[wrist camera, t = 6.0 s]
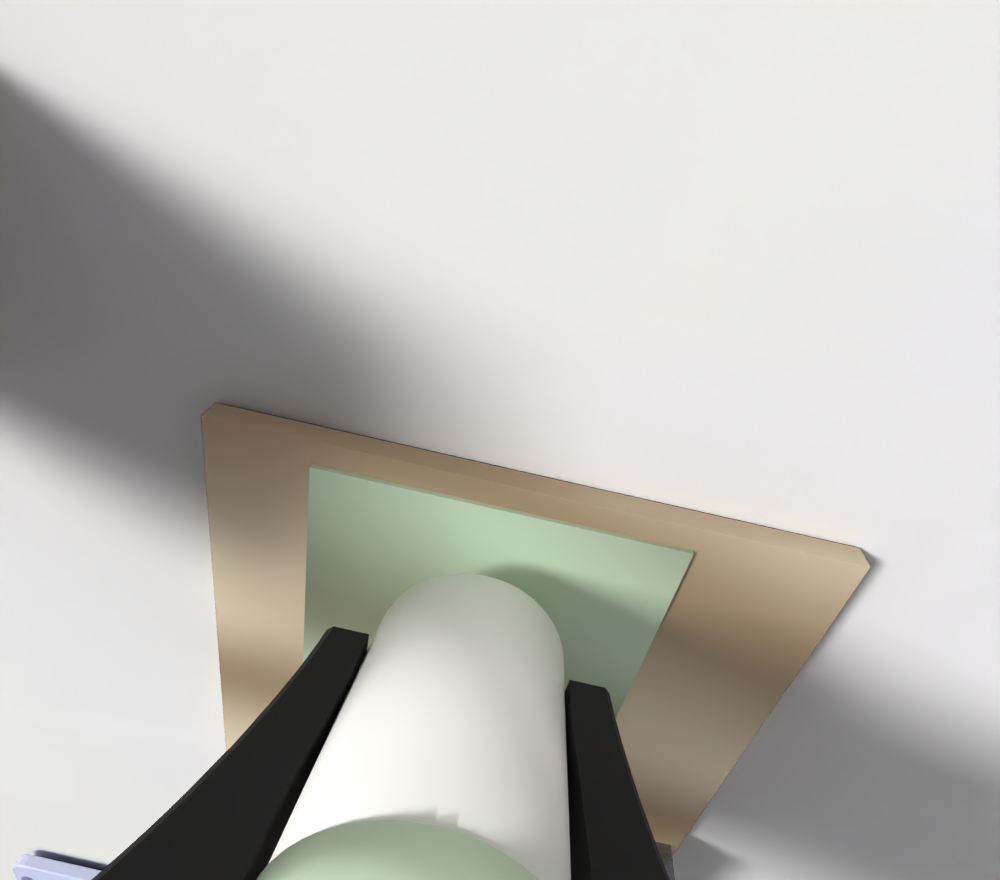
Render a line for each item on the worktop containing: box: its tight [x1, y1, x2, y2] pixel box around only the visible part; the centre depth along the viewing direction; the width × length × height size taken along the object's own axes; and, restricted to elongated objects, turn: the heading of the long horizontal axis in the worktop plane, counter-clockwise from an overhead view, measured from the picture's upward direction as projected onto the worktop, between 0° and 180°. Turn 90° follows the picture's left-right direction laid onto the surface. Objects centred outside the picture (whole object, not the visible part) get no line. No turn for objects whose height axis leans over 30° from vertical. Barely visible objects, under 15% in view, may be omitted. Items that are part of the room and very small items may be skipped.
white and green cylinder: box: [257, 573, 571, 880], centre depth 8 cm, size 4×4×6 cm
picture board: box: [201, 403, 870, 855], centre depth 15 cm, size 16×12×1 cm
